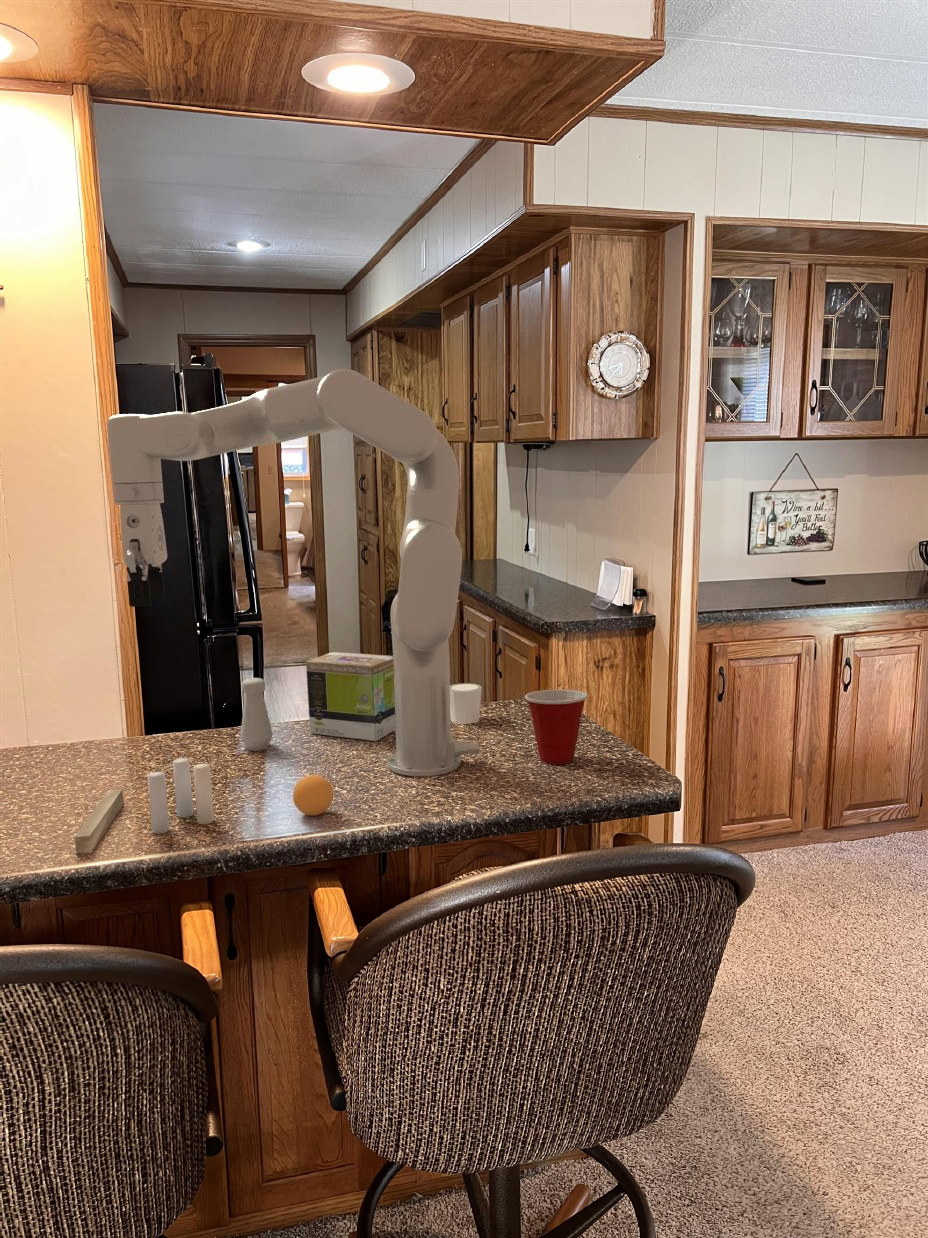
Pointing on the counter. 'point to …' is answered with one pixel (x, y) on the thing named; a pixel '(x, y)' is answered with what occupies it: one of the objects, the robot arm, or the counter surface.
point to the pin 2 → (183, 788)
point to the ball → (313, 795)
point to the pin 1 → (158, 802)
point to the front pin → (203, 793)
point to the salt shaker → (255, 716)
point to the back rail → (99, 821)
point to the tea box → (351, 695)
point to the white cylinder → (465, 703)
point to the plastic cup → (556, 722)
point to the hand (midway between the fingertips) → (147, 601)
